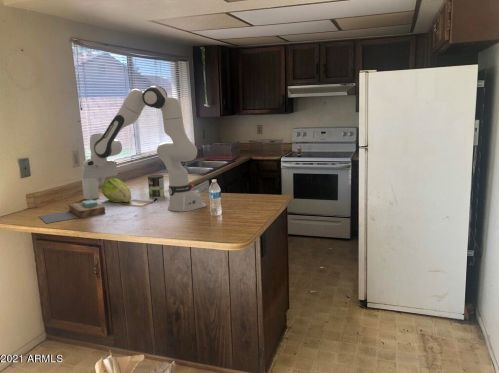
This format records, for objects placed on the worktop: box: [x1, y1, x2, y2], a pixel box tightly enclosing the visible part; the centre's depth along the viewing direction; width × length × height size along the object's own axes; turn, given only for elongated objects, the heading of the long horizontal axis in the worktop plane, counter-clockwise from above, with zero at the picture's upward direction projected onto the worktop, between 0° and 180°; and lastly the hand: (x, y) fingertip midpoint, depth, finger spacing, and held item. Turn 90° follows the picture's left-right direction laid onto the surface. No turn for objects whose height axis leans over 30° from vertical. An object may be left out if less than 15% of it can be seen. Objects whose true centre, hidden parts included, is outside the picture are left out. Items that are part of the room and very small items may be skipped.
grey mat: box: [38, 210, 78, 224], centre depth 237 cm, size 16×20×1 cm
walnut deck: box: [68, 202, 106, 219], centre depth 246 cm, size 14×22×4 cm, turn 37°
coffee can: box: [147, 174, 165, 199], centre depth 283 cm, size 10×10×14 cm
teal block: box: [81, 199, 98, 207], centre depth 247 cm, size 6×9×2 cm, turn 37°
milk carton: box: [81, 177, 100, 201], centre depth 283 cm, size 7×7×19 cm
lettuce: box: [101, 177, 132, 203], centre depth 273 cm, size 15×24×16 cm
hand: (100, 184), depth 249 cm, fingers closed
